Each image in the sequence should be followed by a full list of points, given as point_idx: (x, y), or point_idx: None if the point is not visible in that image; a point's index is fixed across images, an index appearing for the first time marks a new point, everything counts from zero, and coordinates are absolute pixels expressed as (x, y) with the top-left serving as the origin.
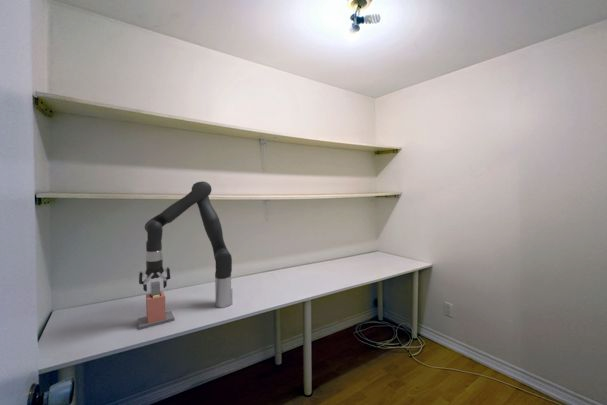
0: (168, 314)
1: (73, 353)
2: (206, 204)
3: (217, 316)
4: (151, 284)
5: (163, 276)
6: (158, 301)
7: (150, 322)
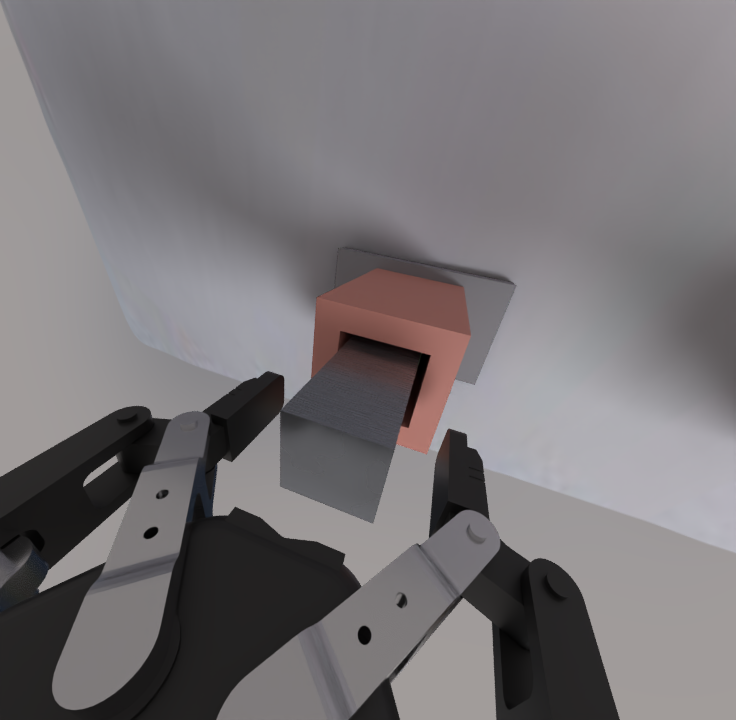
0: (475, 325)
1: (172, 328)
2: None
3: (642, 490)
4: (285, 475)
5: (407, 662)
6: None
7: None
